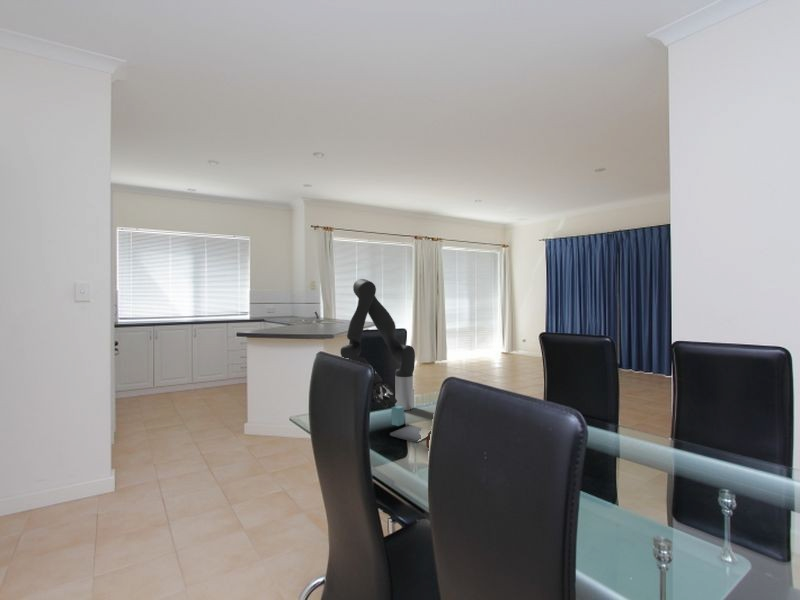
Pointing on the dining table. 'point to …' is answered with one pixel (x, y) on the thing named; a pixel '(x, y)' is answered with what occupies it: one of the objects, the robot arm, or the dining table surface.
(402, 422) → the block
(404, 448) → the dining table surface
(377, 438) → the dining table surface
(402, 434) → the mat
